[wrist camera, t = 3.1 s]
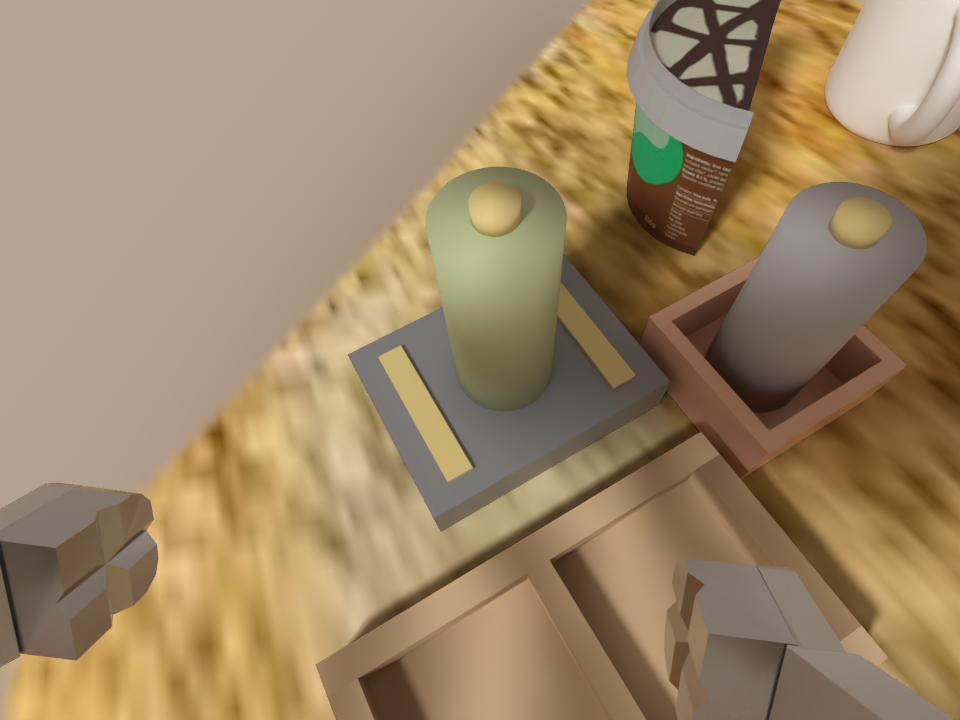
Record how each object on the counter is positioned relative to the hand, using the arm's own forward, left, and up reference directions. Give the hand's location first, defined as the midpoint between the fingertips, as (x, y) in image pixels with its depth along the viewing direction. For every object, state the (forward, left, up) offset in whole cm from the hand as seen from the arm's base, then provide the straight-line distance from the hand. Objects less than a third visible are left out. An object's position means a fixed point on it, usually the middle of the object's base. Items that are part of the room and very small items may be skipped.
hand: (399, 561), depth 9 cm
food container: (-22, -16, -17) cm, 32 cm away
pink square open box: (-17, -3, -17) cm, 24 cm away
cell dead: (-17, -3, -16) cm, 24 cm away
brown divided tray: (-3, +3, -17) cm, 18 cm away
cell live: (-7, -9, -15) cm, 18 cm away
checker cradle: (-7, -9, -17) cm, 20 cm away
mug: (-36, -12, -17) cm, 42 cm away
